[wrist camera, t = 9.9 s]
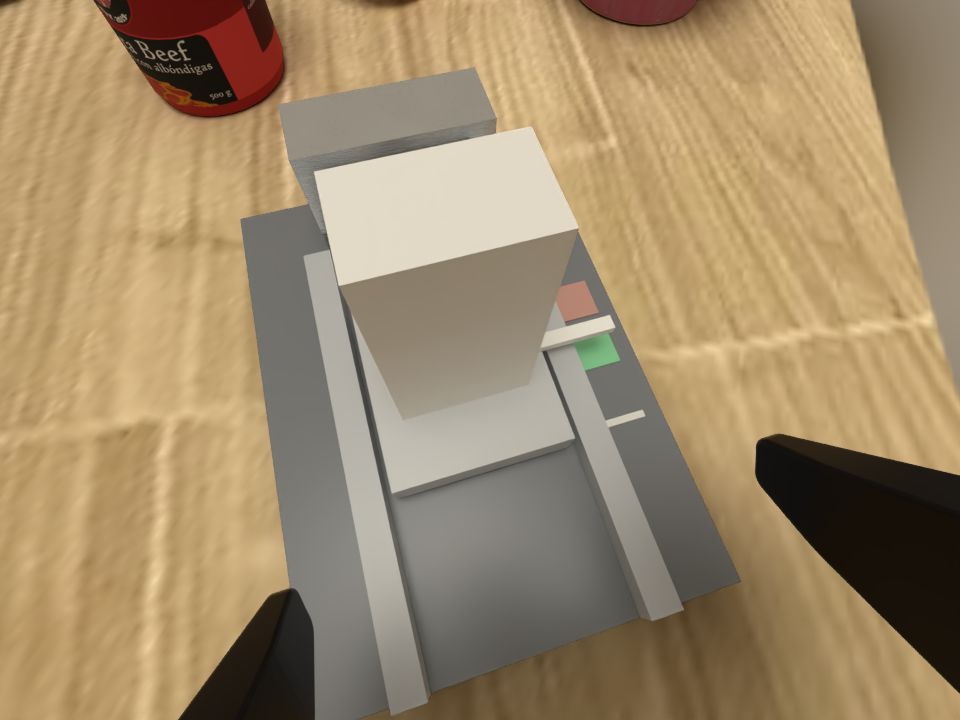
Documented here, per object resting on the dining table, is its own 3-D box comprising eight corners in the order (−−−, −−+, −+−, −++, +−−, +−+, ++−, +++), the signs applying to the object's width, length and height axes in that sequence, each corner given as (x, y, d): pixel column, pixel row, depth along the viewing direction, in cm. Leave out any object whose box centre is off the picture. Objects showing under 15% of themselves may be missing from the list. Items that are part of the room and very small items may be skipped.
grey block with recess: (492, 226, 24) (499, 125, 18) (334, 263, 23) (290, 168, 17) (473, 176, 25) (474, 67, 20) (322, 209, 24) (278, 104, 19)
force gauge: (637, 426, 20) (817, 279, 9) (397, 498, 18) (306, 420, 8) (564, 260, 23) (640, 16, 13) (355, 312, 22) (251, 86, 11)
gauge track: (725, 580, 19) (758, 582, 17) (320, 725, 17) (297, 749, 15) (538, 170, 27) (544, 135, 25) (250, 234, 25) (229, 202, 23)
